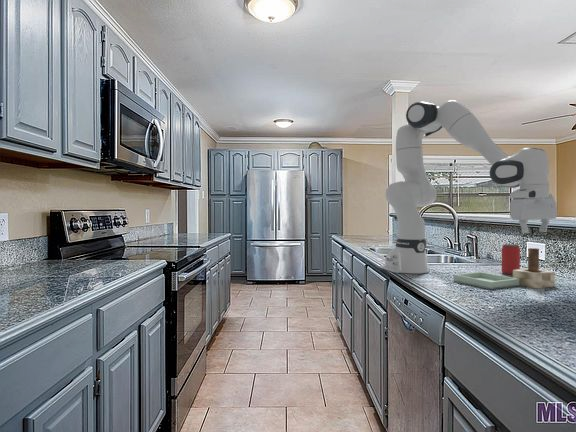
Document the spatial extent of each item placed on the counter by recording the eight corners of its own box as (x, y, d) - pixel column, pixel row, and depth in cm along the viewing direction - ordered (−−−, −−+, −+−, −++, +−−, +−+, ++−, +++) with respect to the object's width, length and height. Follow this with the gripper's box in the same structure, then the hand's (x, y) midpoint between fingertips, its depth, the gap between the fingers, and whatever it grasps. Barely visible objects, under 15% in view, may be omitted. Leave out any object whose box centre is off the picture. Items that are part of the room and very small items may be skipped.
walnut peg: (525, 284, 136) (526, 248, 136) (531, 283, 137) (532, 247, 137) (534, 286, 133) (535, 249, 133) (540, 285, 134) (541, 248, 134)
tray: (453, 281, 143) (453, 274, 143) (480, 278, 148) (480, 271, 148) (491, 289, 128) (491, 282, 128) (519, 285, 134) (519, 278, 134)
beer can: (502, 271, 163) (502, 243, 162) (520, 273, 159) (520, 244, 158) (500, 273, 157) (500, 245, 157) (519, 275, 153) (519, 246, 153)
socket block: (512, 283, 137) (512, 269, 137) (529, 281, 141) (529, 268, 141) (537, 288, 129) (537, 273, 129) (554, 286, 133) (554, 271, 133)
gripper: (544, 194, 141) (544, 231, 141) (506, 193, 133) (506, 233, 133) (562, 193, 135) (562, 231, 136) (523, 192, 127) (524, 233, 128)
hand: (534, 232), depth 134 cm, fingers open, 8 cm apart
